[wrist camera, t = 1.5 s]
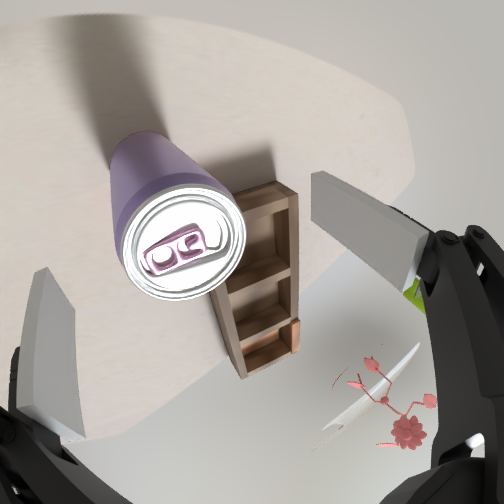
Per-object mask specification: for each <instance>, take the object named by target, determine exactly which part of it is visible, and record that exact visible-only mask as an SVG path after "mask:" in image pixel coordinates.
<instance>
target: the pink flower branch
mask: <svg viewBox="0 0 504 504" xmlns="http://www.w3.org/2000/svg"><path fill="white" fill-rule="evenodd" d="M364 362H365V366H366V367H367V369H368V370H370V371H372V372H379V373H380V374H381V375H383V374H382V373H381V372H380V366H379V364H378V363H377V362H376V361H375V360H374V359H373V357H371V359H367V358H364ZM383 377H384V378H385V379H387V378H386V377H385V376H384V375H383ZM338 378H339V377H338ZM358 378H359V381H360V383H357V382H347V383H348V384H350V385H352V386H354V387H356V388H362V389H363V390H364V388H365V386H364V385H362V382H361V379H360V376H359V374H358ZM387 380H388V379H387ZM388 381H389V382H390V383H391V384H392V382H391V381H390V380H388ZM391 384H390V386H391ZM389 389H390V387H389ZM389 389H388V392H389ZM364 391H365V390H364ZM365 392H366V391H365ZM388 392H387V394H388ZM366 393H367V392H366ZM367 394H368V393H367ZM387 394H386V396H385V397H382V398H381V401H375V400H374V399H373V398H372V397H371V396H370V395H369V394H368V395H369V397H370V398H371V399H372V400H373V401H374V402H380V403H381V404H383V405H387V406H388V407H390V408H391V409H392V410H393V411H394V412H395V413H397V414H399V415H401V418H400V420H398V421H395V422H394V424H393V425H394V429H393V430H392V431H391V434H392V435H393V436H396V438H395V442H396V443H397V444H391V443H382V444H376V445H378V446H385V447H392V446H393V447H394V446H399V444H398V443H400V446H401V448H402V449H405V448H406V447H407V446H408V447H409V448H410V449H412V450H415V449H416V446H420V445H422V442H421V440H422V439H424V438H425V437H426V436H427V434H426V433H425V432H424V431H421V430H422V424H421V423H418V419H417V418H416V416H412V417H411V419H410V420H408V419H407V418H406V417H407V414H408V413H409V411H410V409H411V408H412V406H413V404H414V403H416V404H421V405H425V406H426V407H427V408H433V407H434V408H435V407H436V403H437V399H436V397H435V396H434V395H432V394H424V403H420V402H413V403H412V405H411V407H410V408H409V410H408V412H407V413H406V415H403V414H400V413H399V412H397V411H396V410H395V409H393V408H392V407H391V406H389V405H388V404H387V403H388V402H389V399H388V397H387ZM395 426H396V428H395Z"/></svg>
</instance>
